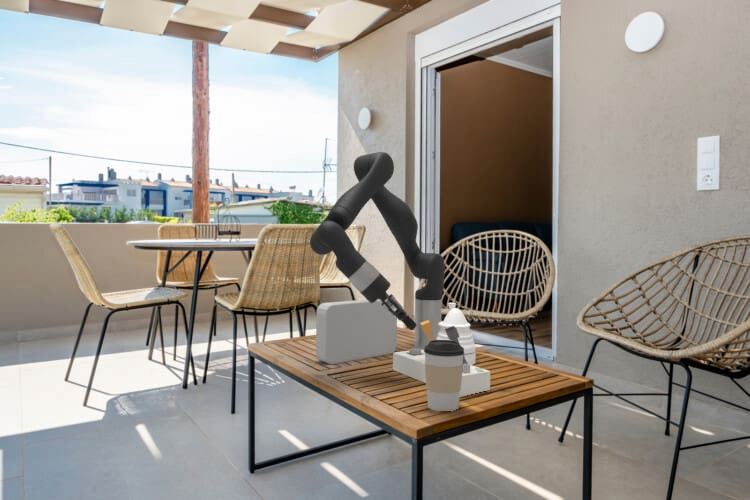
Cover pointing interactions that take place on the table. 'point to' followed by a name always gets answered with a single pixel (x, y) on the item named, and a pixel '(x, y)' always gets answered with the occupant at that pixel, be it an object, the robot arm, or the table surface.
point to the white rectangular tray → (415, 368)
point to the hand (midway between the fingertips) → (414, 327)
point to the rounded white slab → (354, 331)
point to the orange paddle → (427, 329)
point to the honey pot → (459, 332)
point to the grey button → (414, 351)
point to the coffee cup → (443, 374)
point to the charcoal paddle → (454, 337)
